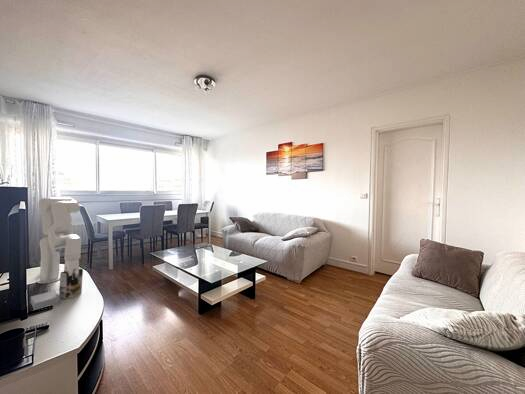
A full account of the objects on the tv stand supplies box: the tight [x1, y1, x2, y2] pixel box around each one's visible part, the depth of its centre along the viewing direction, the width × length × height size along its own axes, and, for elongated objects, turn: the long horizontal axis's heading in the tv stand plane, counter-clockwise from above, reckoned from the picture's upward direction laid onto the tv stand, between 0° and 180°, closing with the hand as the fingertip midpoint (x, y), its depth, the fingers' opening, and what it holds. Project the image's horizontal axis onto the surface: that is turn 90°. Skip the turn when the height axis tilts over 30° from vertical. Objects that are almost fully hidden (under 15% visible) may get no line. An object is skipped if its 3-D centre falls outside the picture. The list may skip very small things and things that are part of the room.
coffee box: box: [58, 267, 84, 300], centre depth 131 cm, size 9×6×16 cm
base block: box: [29, 290, 61, 309], centre depth 120 cm, size 11×10×5 cm
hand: (71, 282), depth 131 cm, fingers open, 9 cm apart
